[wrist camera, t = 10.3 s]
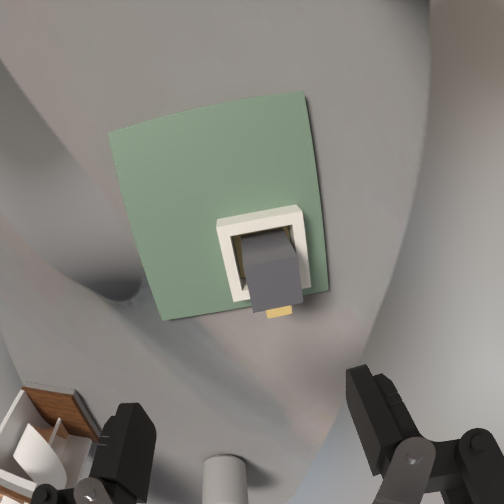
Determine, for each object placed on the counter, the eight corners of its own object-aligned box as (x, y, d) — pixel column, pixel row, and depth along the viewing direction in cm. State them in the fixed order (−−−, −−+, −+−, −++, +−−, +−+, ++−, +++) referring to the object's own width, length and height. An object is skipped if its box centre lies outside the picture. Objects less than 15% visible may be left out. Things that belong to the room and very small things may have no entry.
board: (112, 133, 26) (96, 133, 22) (300, 92, 26) (310, 87, 22) (164, 314, 33) (158, 334, 30) (325, 285, 33) (335, 302, 30)
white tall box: (100, 433, 42) (62, 605, 9) (53, 424, 41) (3, 576, 9) (75, 389, 38) (8, 589, 5) (25, 381, 37) (-50, 548, 5)
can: (195, 462, 46) (192, 518, 35) (219, 447, 44) (219, 508, 33) (228, 473, 48) (230, 526, 37) (253, 459, 46) (259, 516, 35)
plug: (240, 235, 29) (243, 267, 23) (282, 227, 29) (297, 256, 23) (249, 281, 31) (255, 320, 24) (289, 273, 31) (304, 311, 24)
